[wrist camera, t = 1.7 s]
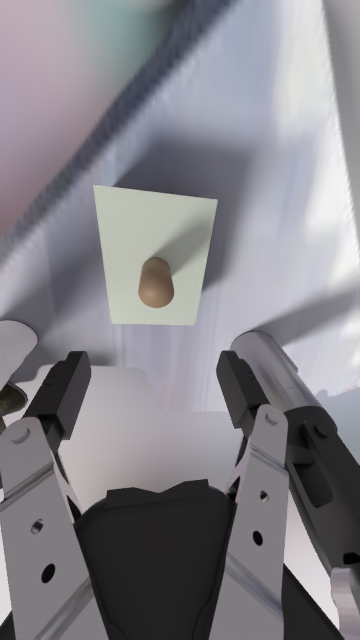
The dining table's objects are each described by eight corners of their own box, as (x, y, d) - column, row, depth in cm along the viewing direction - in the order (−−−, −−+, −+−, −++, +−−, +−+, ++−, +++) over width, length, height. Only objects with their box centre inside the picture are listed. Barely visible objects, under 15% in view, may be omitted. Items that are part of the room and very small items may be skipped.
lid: (213, 199, 21) (238, 202, 15) (193, 318, 31) (203, 352, 24) (97, 185, 19) (69, 182, 13) (113, 316, 29) (101, 352, 22)
